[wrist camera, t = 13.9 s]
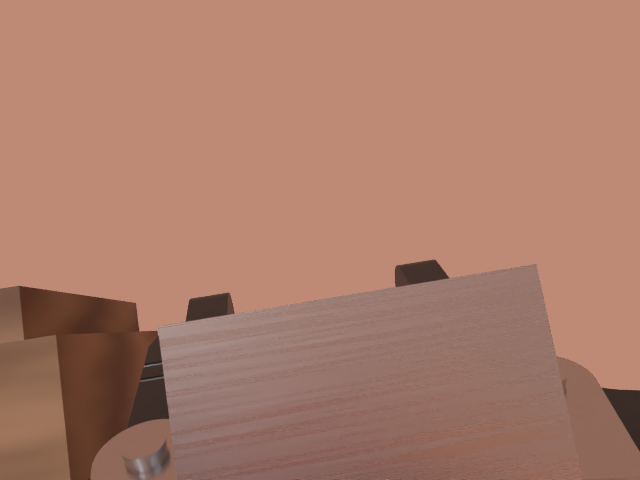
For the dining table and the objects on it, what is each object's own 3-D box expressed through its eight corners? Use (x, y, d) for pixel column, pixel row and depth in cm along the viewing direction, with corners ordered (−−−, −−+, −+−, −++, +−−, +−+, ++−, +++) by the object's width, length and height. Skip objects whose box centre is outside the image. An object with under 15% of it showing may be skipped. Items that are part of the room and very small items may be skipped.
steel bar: (624, 669, 5) (535, 263, 5) (213, 756, 4) (157, 326, 5) (346, 386, 28) (335, 318, 29) (279, 398, 28) (268, 329, 29)
